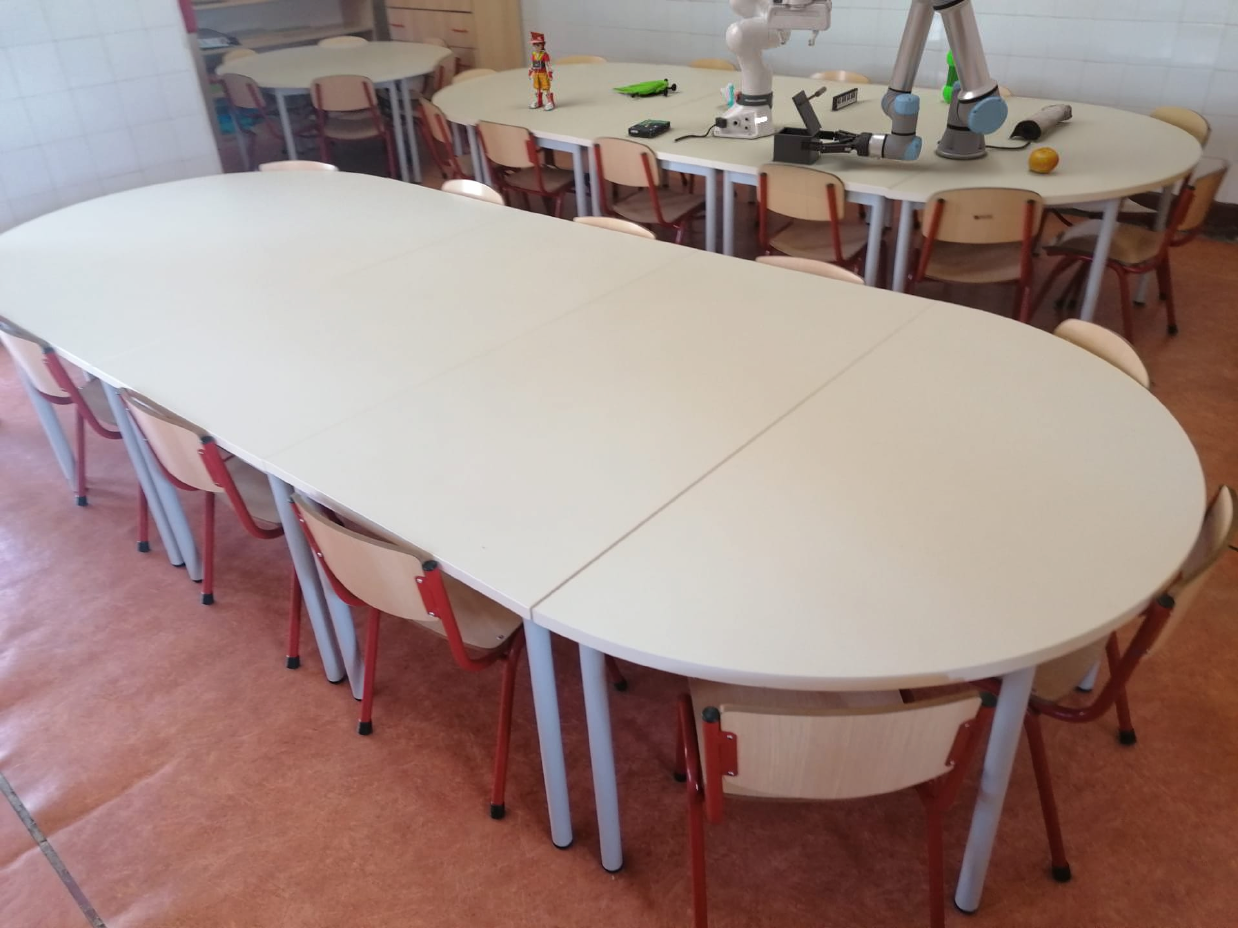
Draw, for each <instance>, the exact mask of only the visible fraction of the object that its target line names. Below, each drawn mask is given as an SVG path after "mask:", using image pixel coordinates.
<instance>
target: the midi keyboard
mask: <svg viewBox="0 0 1238 928" xmlns="http://www.w3.org/2000/svg"><path fill="white" fill-rule="evenodd" d="M858 90H859V88H858V87H854V88H852V89H849V90H846V91H844V92H842V93H839V94H837V95H833V96H832V101H831V102H832V104H831V111H837V110H838V109H841V108H843V107H846V106H848V105H850V104H852V103H855V102H857V101H858V93H859V91H858Z"/></svg>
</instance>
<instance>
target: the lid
mask: <svg viewBox="0 0 1238 928" xmlns="http://www.w3.org/2000/svg"><path fill="white" fill-rule="evenodd" d="M826 92H827V87H826V86H825V85H824V86H821V88H819V89H818V90H816V91H815V92H814V94H812V95H810V96H807V94H806V92H805V90H804V89H802V90H801V91H799V92H798V93H796V94H795V95H793V96H792V97H791V100H792V103H793V104H794V106H795V109H796V110H797V113H798V114H799V116H800V118H801V120H802V122H803V124H804V126H805V128H807V130H808V132H809V134H810V136H812V135H813V134H814V133H816V132H817V131H818V130H819V129H820V130H821V129H822V128H823V126H822V124H821V122H820V120H819V118H818V116H817V113H816V112H815V110H814V108H813V106H812V104H811V100H812V99H814V98H819V97H820V96H822V95H823V94H825V93H826Z"/></svg>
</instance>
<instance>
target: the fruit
mask: <svg viewBox="0 0 1238 928" xmlns="http://www.w3.org/2000/svg"><path fill="white" fill-rule="evenodd" d="M1059 162H1060V156H1059V153H1058V152H1057V151H1056V150H1055V149H1053V148H1052V147H1039V148H1036V149H1034V150H1033V151H1032V152H1031V153H1030V155H1029V157H1028V163H1027V164H1028V167H1029V169H1030V170H1031V171H1032V172H1035V173H1038V174H1040V173H1041V174H1048V173H1051V171H1054V170H1055V168H1057V166H1058V164H1059Z"/></svg>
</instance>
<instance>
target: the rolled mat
mask: <svg viewBox="0 0 1238 928" xmlns="http://www.w3.org/2000/svg"><path fill="white" fill-rule="evenodd" d="M1072 118H1073V109H1072V106H1071V105H1070V104H1064V103H1062V104H1061V103H1060V104H1059V103H1057V104H1053V105H1047V106H1044V107H1043V108H1042V109H1041V110H1040V111H1038V112H1036V113H1034V114H1032V115H1030V116H1028V117H1026V118H1024V119H1023V120H1021V121H1019V122H1017V123H1016V125H1015V127H1014V128H1013V130H1012V132H1011V134H1010V136H1009V139H1013V138H1015V137H1020V138H1022V139H1023V140H1025V141H1029V142H1036V141H1038V140H1040V138H1042V137H1043V136H1044V135H1045V134H1046V133H1047V131H1049V130H1050V129H1051V128H1053V127H1054V126H1055V125H1056V124H1057V123H1059V122H1064V121H1065V122H1067V121H1069V120H1071V119H1072Z"/></svg>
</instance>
